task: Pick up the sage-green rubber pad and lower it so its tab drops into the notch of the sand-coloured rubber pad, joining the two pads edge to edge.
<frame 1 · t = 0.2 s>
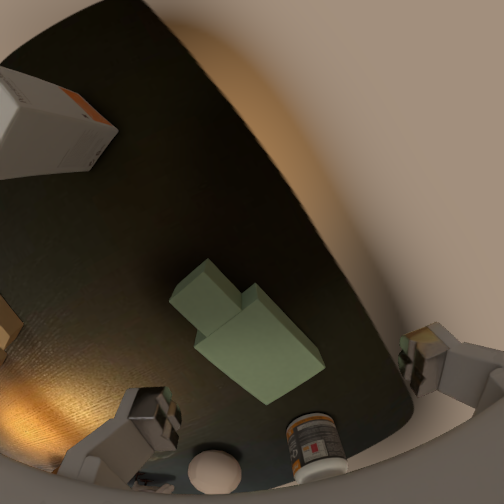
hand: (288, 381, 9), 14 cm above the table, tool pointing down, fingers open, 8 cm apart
pill bottle: (309, 424, 29), on the table
sage pad: (260, 339, 25), on the table
bird: (139, 475, 33), on the table
cosmetic box: (84, 130, 19), on the table
light bulb: (213, 459, 31), on the table
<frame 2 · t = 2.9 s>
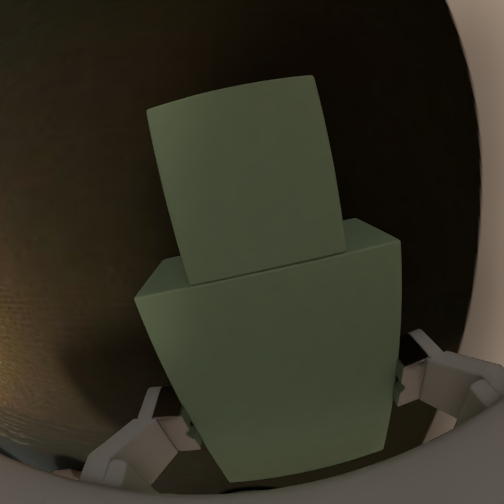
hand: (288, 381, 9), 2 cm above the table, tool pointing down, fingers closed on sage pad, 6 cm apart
sage pad: (283, 351, 10), on the table, touching gripper
light bulb: (82, 479, 14), on the table
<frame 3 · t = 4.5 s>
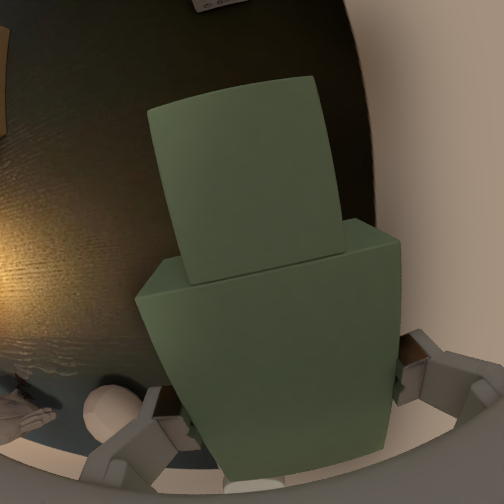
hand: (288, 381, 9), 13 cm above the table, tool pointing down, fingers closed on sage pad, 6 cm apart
pill bottle: (249, 405, 25), on the table
sage pad: (283, 351, 10), point 11 cm above the table, touching gripper
bird: (23, 385, 25), on the table
light bulb: (116, 402, 25), on the table
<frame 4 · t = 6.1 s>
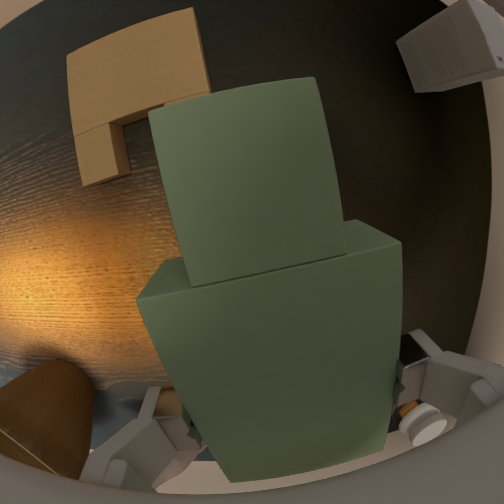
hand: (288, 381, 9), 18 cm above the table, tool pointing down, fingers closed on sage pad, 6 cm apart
pill bottle: (397, 381, 32), on the table
sage pad: (284, 352, 10), point 16 cm above the table, touching gripper
sand pad: (144, 102, 22), on the table
bird: (173, 405, 31), on the table
cosmetic box: (418, 66, 21), on the table
plant pot: (70, 379, 30), on the table
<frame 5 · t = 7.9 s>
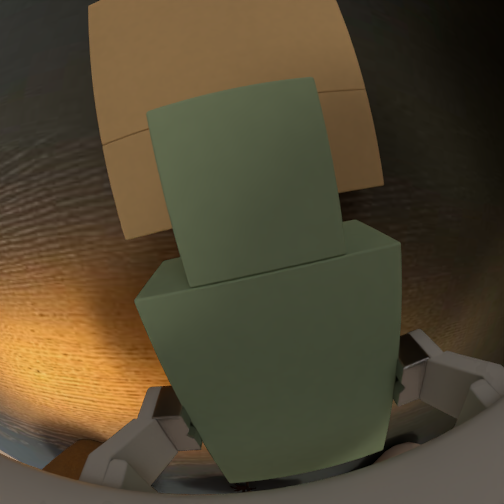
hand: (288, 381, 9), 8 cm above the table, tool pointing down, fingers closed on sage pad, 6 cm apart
sage pad: (283, 352, 10), point 6 cm above the table, touching gripper
sand pad: (228, 91, 13), on the table
plant pot: (105, 457, 22), on the table
light bulb: (377, 458, 23), on the table
when the fingers open (2 cm above the table, at t = 9.7 s): sage pad stays where it is, on the table.
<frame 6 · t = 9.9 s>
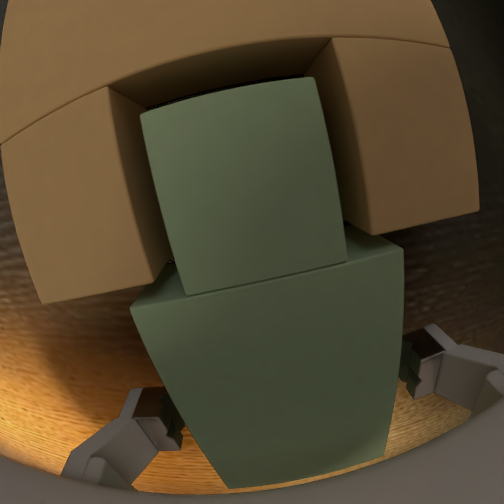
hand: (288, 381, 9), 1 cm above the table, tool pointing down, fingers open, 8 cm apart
sage pad: (282, 358, 10), on the table
sand pad: (215, 46, 7), on the table
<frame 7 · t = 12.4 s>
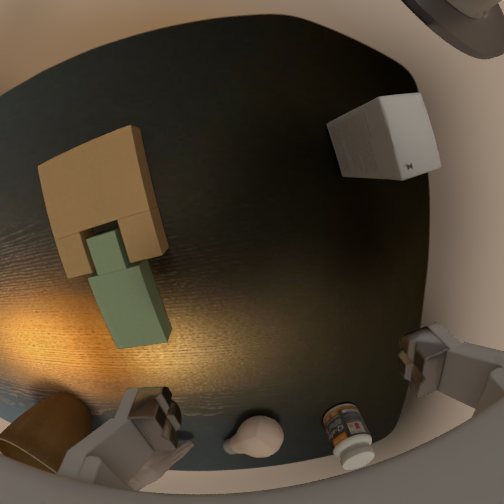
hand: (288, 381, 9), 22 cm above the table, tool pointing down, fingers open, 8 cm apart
pill bottle: (339, 413, 38), on the table
sage pad: (134, 299, 31), on the table
sand pad: (105, 207, 28), on the table
bird: (153, 427, 37), on the table
cosmetic box: (350, 145, 28), on the table
plant pot: (72, 406, 36), on the table
light bulb: (248, 426, 38), on the table
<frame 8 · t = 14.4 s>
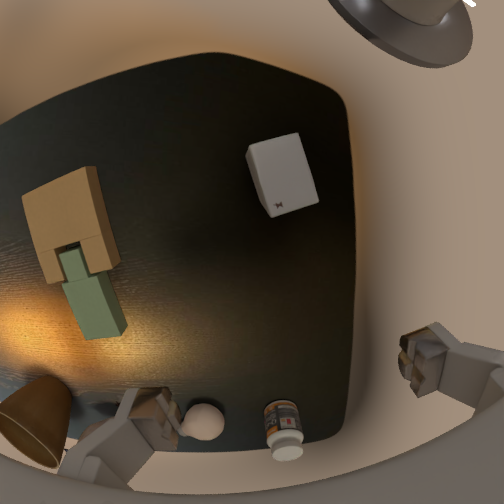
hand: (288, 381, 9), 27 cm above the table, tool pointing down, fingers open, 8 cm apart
pill bottle: (280, 408, 44), on the table
sage pad: (98, 301, 37), on the table
sand pad: (73, 228, 34), on the table
cosmetic box: (269, 172, 33), on the table
plant pot: (56, 388, 43), on the table
light bulb: (198, 412, 44), on the table
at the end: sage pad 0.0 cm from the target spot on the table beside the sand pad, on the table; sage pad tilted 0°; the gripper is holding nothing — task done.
